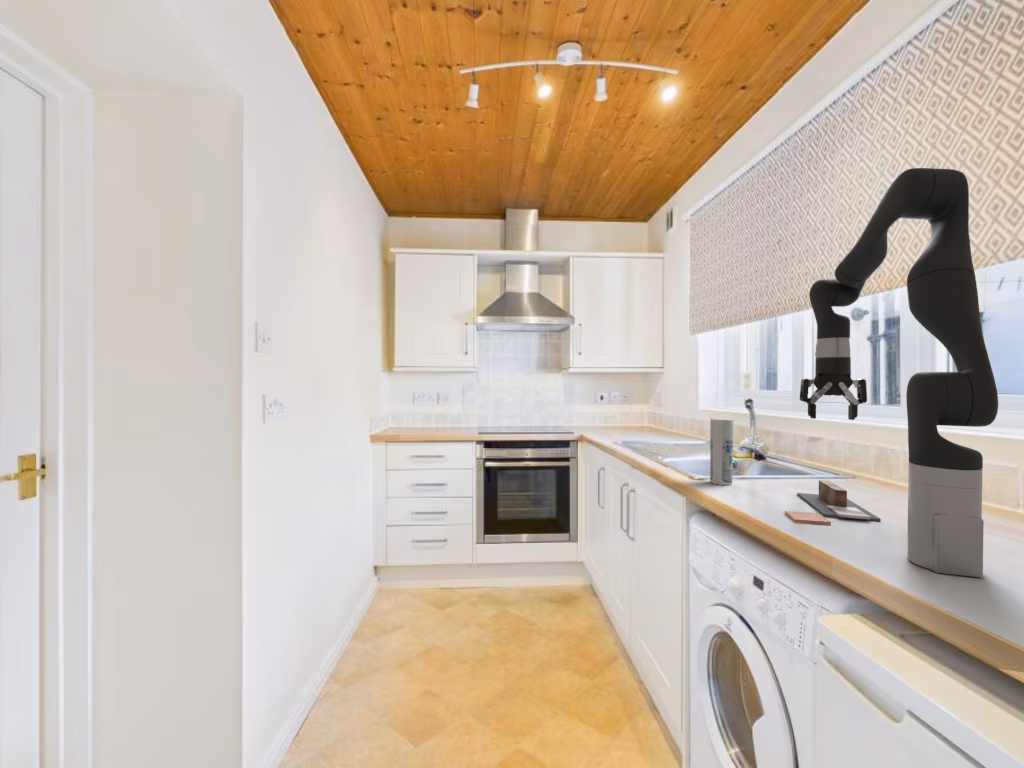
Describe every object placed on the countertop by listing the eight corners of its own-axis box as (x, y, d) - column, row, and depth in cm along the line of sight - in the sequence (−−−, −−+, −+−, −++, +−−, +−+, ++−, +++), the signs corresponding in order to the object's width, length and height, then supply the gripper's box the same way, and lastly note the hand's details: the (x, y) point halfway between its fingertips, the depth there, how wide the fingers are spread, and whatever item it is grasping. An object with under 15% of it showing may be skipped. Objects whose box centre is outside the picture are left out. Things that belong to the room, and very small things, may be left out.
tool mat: (880, 521, 104) (880, 518, 104) (824, 516, 107) (824, 514, 107) (843, 498, 125) (843, 496, 125) (797, 494, 128) (797, 492, 128)
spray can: (715, 480, 147) (715, 417, 147) (736, 483, 142) (736, 419, 142) (706, 482, 142) (706, 418, 142) (727, 486, 138) (728, 420, 138)
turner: (810, 496, 124) (811, 479, 124) (836, 498, 122) (836, 481, 122) (839, 516, 105) (839, 497, 105) (870, 519, 103) (870, 499, 103)
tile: (817, 518, 108) (830, 527, 101) (784, 515, 109) (795, 524, 102) (817, 513, 108) (830, 521, 101) (784, 510, 109) (795, 519, 102)
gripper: (805, 355, 117) (804, 419, 117) (872, 355, 112) (871, 421, 112) (797, 357, 124) (796, 417, 124) (859, 357, 119) (858, 419, 120)
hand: (832, 419), depth 118 cm, fingers open, 8 cm apart
